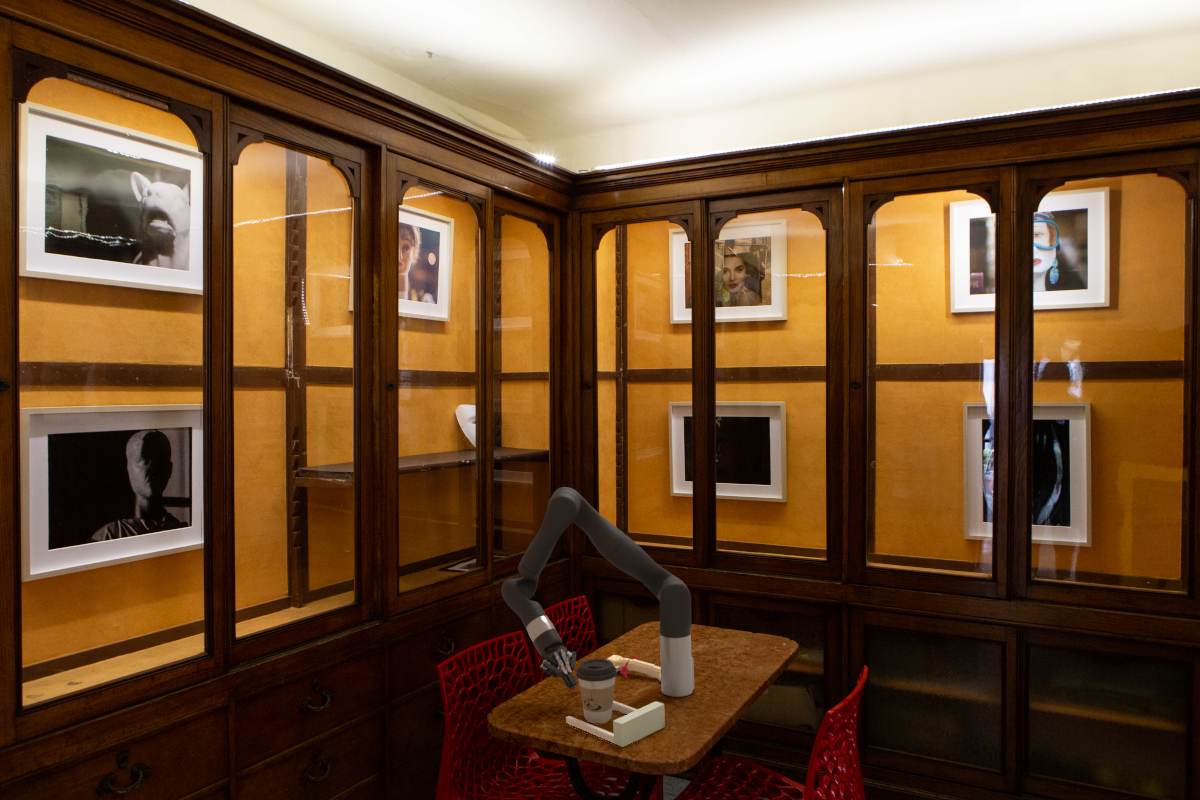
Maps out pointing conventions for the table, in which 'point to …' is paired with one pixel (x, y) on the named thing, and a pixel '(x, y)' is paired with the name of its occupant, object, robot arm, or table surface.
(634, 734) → the guide track
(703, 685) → the table surface
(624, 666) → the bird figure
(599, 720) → the coffee cup
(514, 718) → the table surface
